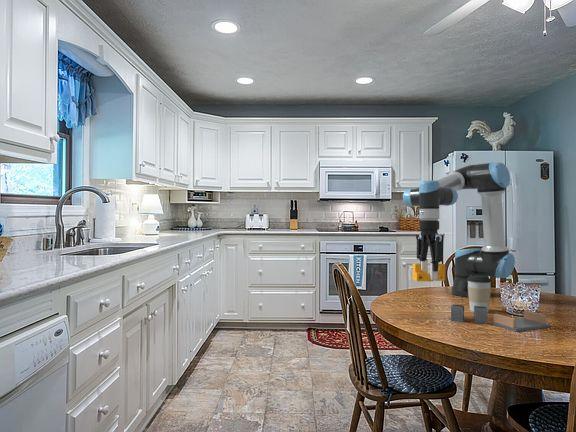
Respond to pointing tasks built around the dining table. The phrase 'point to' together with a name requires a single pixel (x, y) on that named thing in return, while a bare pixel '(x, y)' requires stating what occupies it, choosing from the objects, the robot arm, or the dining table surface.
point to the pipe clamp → (421, 276)
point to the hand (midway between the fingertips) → (429, 278)
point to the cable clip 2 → (480, 314)
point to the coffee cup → (479, 291)
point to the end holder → (521, 321)
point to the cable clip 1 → (457, 313)
